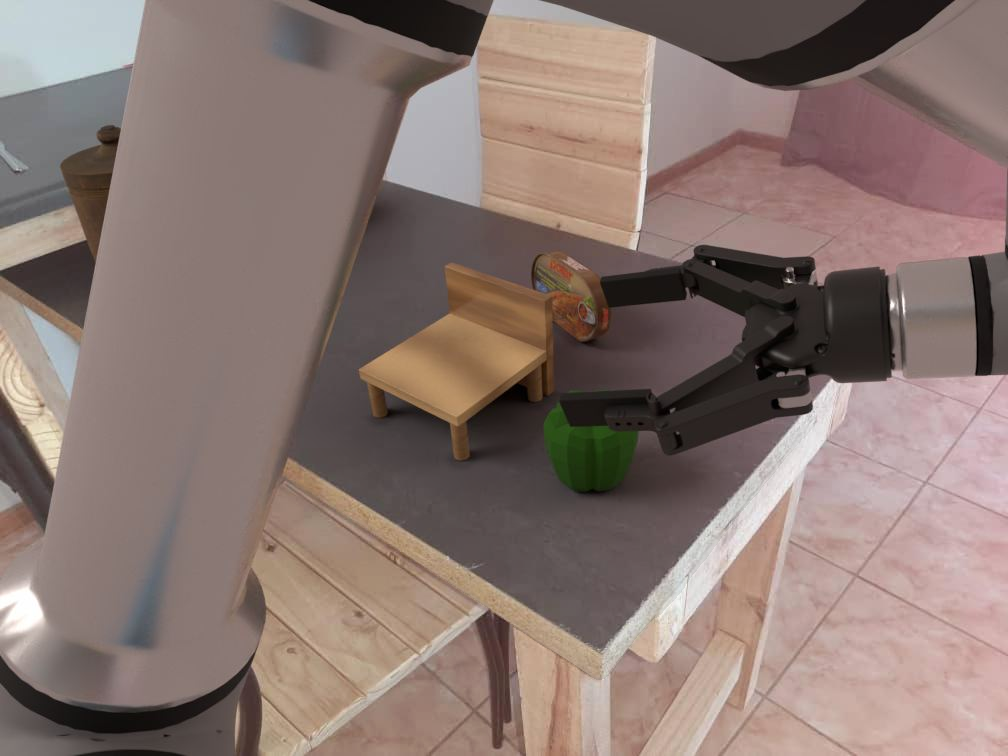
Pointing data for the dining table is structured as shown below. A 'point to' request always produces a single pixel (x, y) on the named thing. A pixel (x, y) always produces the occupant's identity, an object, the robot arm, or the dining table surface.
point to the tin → (572, 295)
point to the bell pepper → (587, 452)
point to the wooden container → (92, 182)
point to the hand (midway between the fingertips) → (586, 346)
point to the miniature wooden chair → (470, 353)
